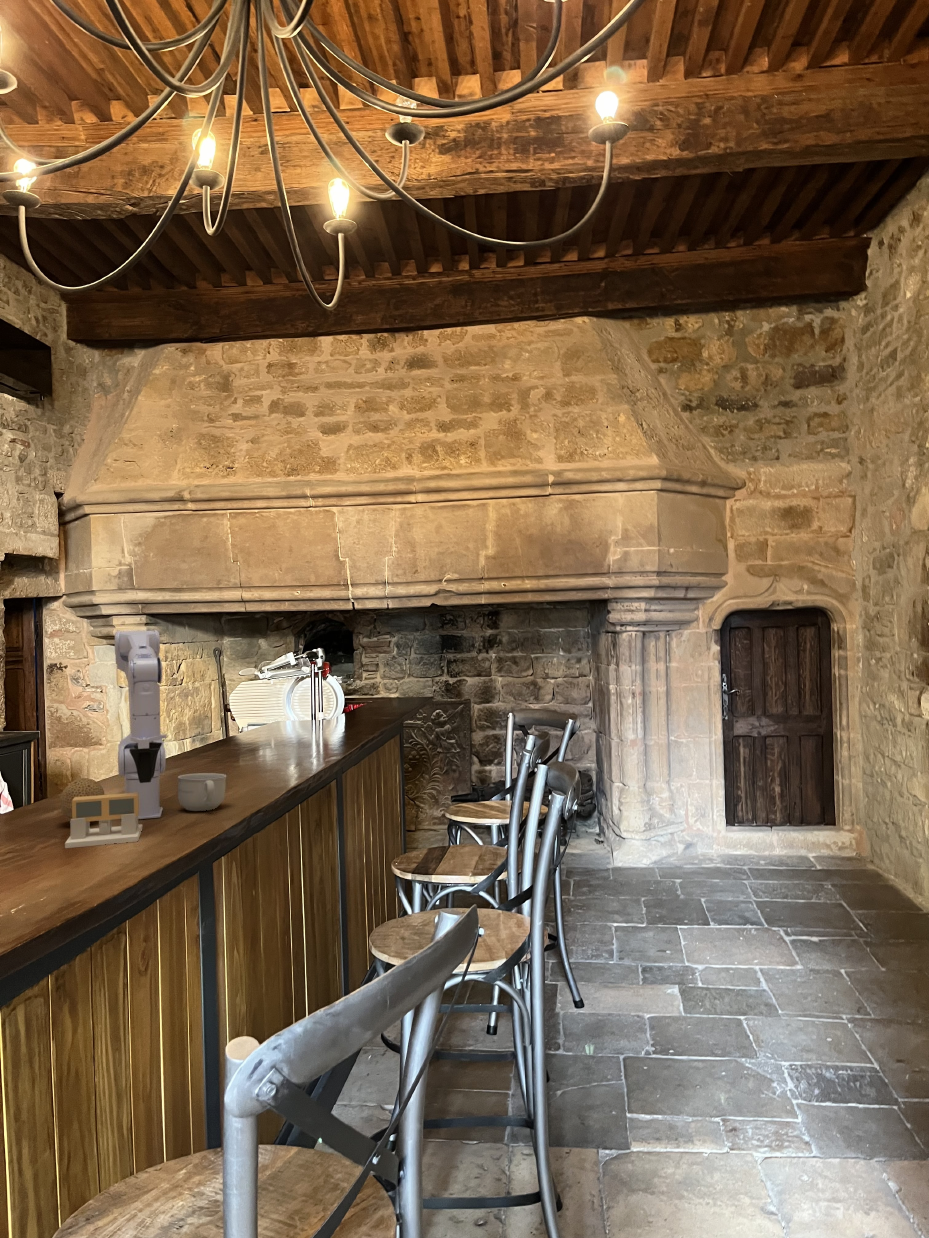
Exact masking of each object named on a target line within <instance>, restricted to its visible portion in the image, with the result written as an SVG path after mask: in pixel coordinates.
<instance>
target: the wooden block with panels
mask: <svg viewBox="0 0 929 1238" xmlns="http://www.w3.org/2000/svg"><path fill="white" fill-rule="evenodd" d="M126 814H136V817H138V816H139V792H137V793H125V792H123V793H113V794H105V795H98V796H84V797H75V798H74V799H73V800H72V819H77V818H85V822H88V821H90V822H95V821H97V822H99V821H100V820H111V821H112V820H120V819H121V815H126Z"/></svg>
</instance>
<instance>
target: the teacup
mask: <svg viewBox="0 0 929 1238" xmlns="http://www.w3.org/2000/svg"><path fill="white" fill-rule="evenodd" d="M226 779H227V774H224V773H213V772H212V773H206V772H204V773H203V772H202V773H200V772H199V773H187V774H180V775H179V776H177V798H178V799H177V800H178V802H179V804H180V805H181V806H182V807H184V809H185V810H186V811H191V812H203V811H206V810H207V811H212V809H213V810H216V809H217V808H218V807H219V806H220V805H221V804H222V803H223V801H224V800H225V796H226V785H227V784H226V782H227V781H226ZM215 808H216V809H215ZM207 811H206V812H207Z"/></svg>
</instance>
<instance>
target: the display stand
mask: <svg viewBox="0 0 929 1238" xmlns="http://www.w3.org/2000/svg"><path fill="white" fill-rule="evenodd" d="M90 822H91V821H88V822H85V818H77V819H71V818H70V822H69V824H70V836H69V837H68V838H67V839H66V841H65V843H64V848H65V849H72V848H73V849H74V848H83V847H94V846H106V845H115V844H114V843H117V844H126V842H128V843H134V842H135V843H137V841H138V842H139V839H140V836H141V834H142V832H141V831H143V824H139V819H138V817H136V814H126V815H121V823H120V824H121V825H119V826H112V820H100V821H98V827H97V828H96V827H95V828H90V824H91V823H90ZM105 844H106V845H105Z"/></svg>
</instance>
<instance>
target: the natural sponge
mask: <svg viewBox="0 0 929 1238" xmlns="http://www.w3.org/2000/svg"><path fill="white" fill-rule="evenodd" d="M98 795H106V794H105V790H104V788H103V786H102V785H101V784H100V783H99V782H97V781H96V779H92V778H89V777H79V778H77V779H75V780H73V781H71V782H70V783H68V785H67V786H66V787H65V788H64V789H63V791H62V792H61V795H60V798H59V805H60V810H61V812H62V814H63V815H65V816H66V817H68V818H69V819H70V820H71V819H72V800H73V799H74V798H75V797H84V796H98Z"/></svg>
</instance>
